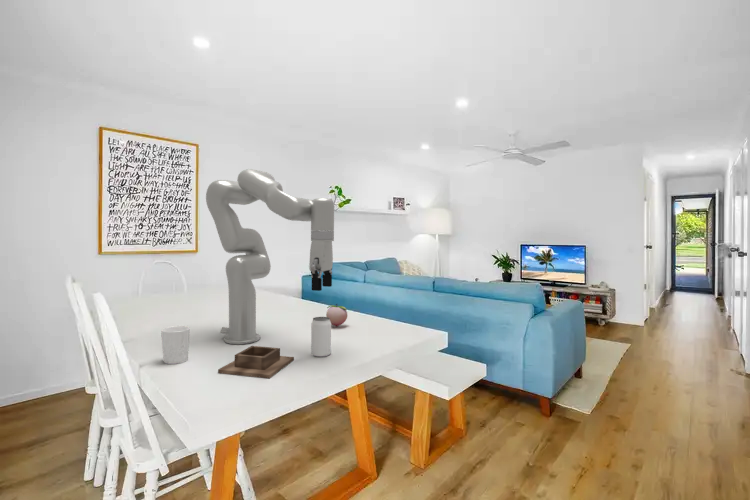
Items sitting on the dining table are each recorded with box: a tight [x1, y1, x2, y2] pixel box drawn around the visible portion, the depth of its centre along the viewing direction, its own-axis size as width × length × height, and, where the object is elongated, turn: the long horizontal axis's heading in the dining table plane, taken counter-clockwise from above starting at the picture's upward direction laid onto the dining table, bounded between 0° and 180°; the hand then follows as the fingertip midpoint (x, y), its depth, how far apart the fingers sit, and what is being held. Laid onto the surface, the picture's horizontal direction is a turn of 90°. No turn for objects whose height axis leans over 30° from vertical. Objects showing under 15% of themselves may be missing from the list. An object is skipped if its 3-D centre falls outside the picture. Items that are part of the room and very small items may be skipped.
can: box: [310, 316, 332, 358], centre depth 129 cm, size 6×6×12 cm
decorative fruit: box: [325, 303, 348, 328], centre depth 167 cm, size 9×8×10 cm
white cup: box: [160, 325, 191, 365], centre depth 121 cm, size 8×8×10 cm
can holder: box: [217, 345, 295, 379], centre depth 117 cm, size 16×16×4 cm
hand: (322, 288), depth 129 cm, fingers open, 9 cm apart
